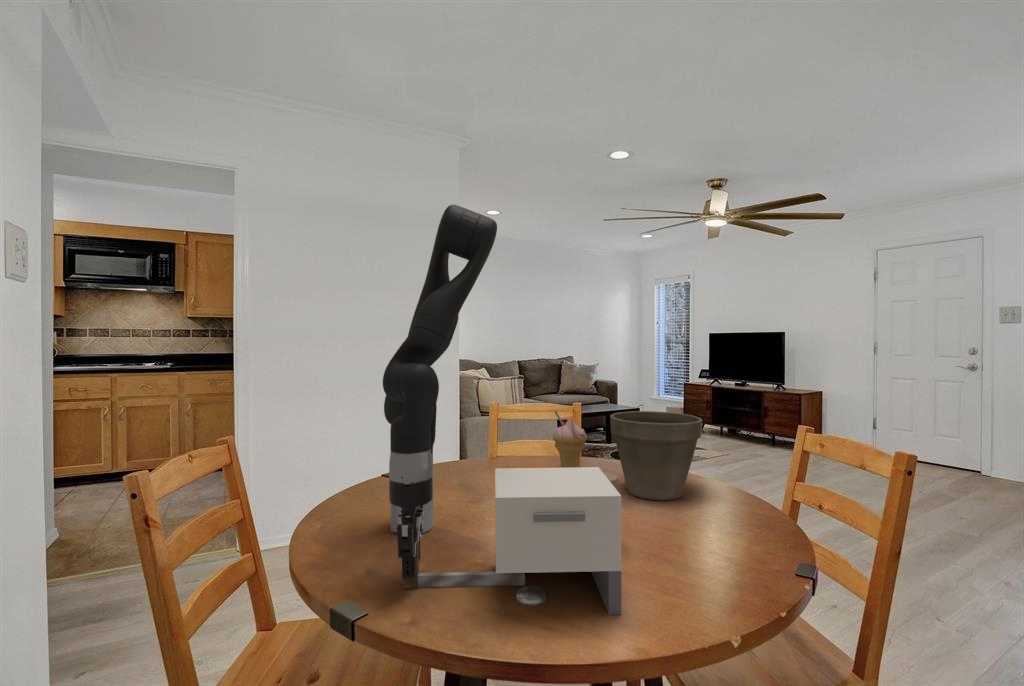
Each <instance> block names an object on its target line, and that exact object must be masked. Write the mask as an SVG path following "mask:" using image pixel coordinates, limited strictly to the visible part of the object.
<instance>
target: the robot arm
mask: <svg viewBox="0 0 1024 686" xmlns="http://www.w3.org/2000/svg"><path fill="white" fill-rule="evenodd" d="M497 231H498V224H497V222H496V221H495V219H493V218H491V217H488V216H486V215H484V214H481V213H478V212H476V211H473V210H470V209H468V208H465V207H463V206H460V205H458V204H450V205H449V206H447V207H446V208H445V210H444V211H443V214H442V215H441V218H440V221H439V224H438V227H437V231H436V235H435V239H434V243H433V248H432V253H431V256H430V259H429V260H430V261H429V264H428V269H427V273H426V276H425V277H426V278H425V279H424V284H423V285H422V289H421V292H420V296H419V298H418V300H417V304H416V307H415V309H414V312H413V316H412V319H411V323H410V327H409V331H408V334H407V337H406V338H405V340H404V341H403V342H402V343H401V345H399V348H398V349H397V350H396V352H394V354H393V356H392V357H391V358H390V360H389V362H388V363H387V366H386V367H385V370H384V372H383V376H382V388H383V391H384V393H385V397H384V402H383V403H384V404H383V411H384V412H383V414H384V417H385V420H386V421H387V423H389V424H390V434H389V435H390V437H389V438H390V439H389V440H390V451H389V452H390V454H389V455H390V456H389V460H388V461H389V462H388V475H389V476H388V479H389V481H388V487H389V489H388V490H389V491H388V493H389V494H388V495H389V497H388V499H389V503H390V533H396V534H397V552H398V553H397V556H398V559H401V578H403V579H404V578H414V577H415V555H416V543H417V542H418V541H419V562H420V561H421V541H422V539H423V536H422V534H424V533H426V532H429V531H431V530H432V529H433V528H434V444H435V441H436V430H437V429H436V427H437V409H438V408H437V402H438V399H439V391H440V382H439V377H438V376H437V372H436V371H435V370H434V368H433V367H432V366H433V365H434V364H435V362H437V361H438V360H439V359H440V358H441V357H442V356H443V354H444V353H445V352H446V350H448V348H449V346H451V342H452V340H453V337H454V334H455V332H456V331H455V330H456V327H457V325H458V322H459V315H460V314H459V313H460V311H461V309H462V307H464V306H463V305H464V303H465V302H466V300H467V298H468V296H469V295H470V293H471V291H472V289H473V287H474V286H475V283H476V281H477V280H478V278H479V275H480V274H481V272H482V270H483V268H484V267H485V265H486V262H487V260H488V258H489V256H490V253H491V251H492V249H493V247H494V244H495V240H496V237H497ZM450 254H451V255H454V256H456V257H459V258H462V259H464V260H467V262H466V265H465V266H464V268H463V269H462V270H461V271H460V272H459V273H458V274H457V275H456V276H454V277H453V278H452V279H451V280H450V273H449V260H450V259H449V257H450ZM413 535H415V536H414V537H413ZM405 546H410V549H404V548H405Z"/></svg>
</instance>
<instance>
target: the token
mask: <svg viewBox="0 0 1024 686" xmlns="http://www.w3.org/2000/svg"><path fill="white" fill-rule="evenodd" d="M515 598H516V601H518V603H520V604H522V605H526V606H537V605H540V604H543V603H544V602H545V601H546V599H547V592H546V591H545V590H544V589H543V588H540V587H538V586H524V587H521V588H519V589H518V590H517V591H516V597H515Z"/></svg>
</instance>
